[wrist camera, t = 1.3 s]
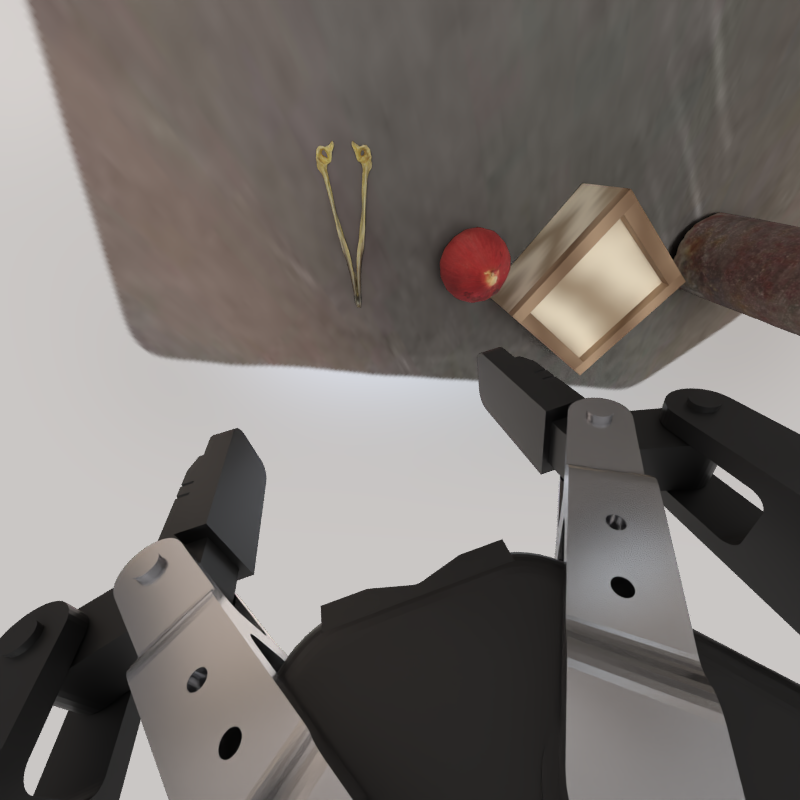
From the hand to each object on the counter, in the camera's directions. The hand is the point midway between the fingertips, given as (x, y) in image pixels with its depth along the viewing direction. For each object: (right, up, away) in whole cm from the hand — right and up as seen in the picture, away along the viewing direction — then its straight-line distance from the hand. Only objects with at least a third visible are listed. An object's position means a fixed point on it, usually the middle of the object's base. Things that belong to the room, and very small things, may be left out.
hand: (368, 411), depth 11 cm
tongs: (-3, +15, +18) cm, 23 cm away
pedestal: (+18, +13, +23) cm, 32 cm away
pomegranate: (+7, +14, +20) cm, 25 cm away
